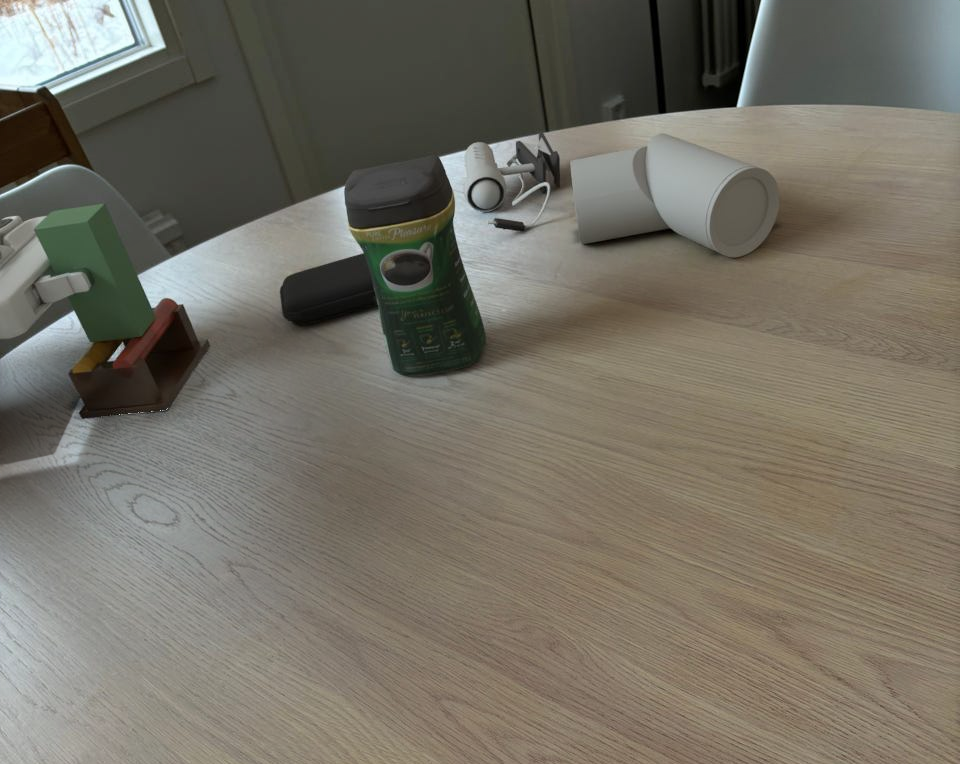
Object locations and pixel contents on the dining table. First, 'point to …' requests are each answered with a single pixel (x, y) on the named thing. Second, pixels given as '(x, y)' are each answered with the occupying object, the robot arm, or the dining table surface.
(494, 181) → the clip-on lamp
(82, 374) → the rod stand
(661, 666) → the dining table surface
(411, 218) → the coffee jar
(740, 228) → the l-shaped cylinder
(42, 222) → the green bar
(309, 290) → the carrying case
